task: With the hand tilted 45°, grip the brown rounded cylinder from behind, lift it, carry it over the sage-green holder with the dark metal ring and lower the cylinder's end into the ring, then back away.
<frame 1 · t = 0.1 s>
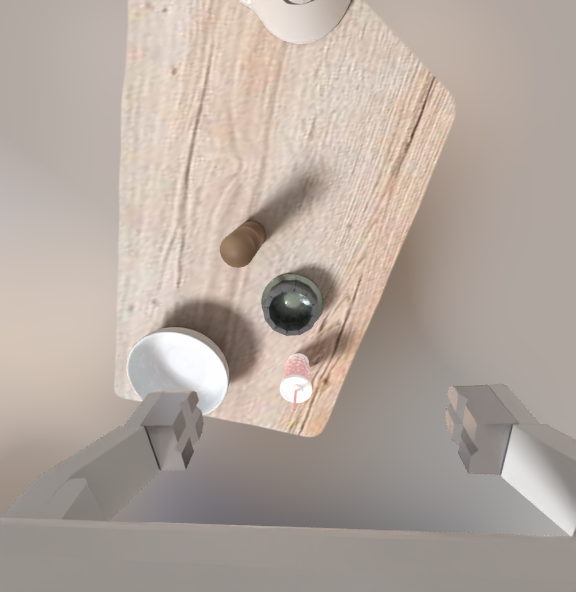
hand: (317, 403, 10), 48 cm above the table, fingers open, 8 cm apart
brown rounded cylinder: (252, 234, 57), on the table
beverage cup: (298, 361, 67), on the table
serving bowl: (189, 358, 69), on the table
cup holder: (292, 302, 61), on the table
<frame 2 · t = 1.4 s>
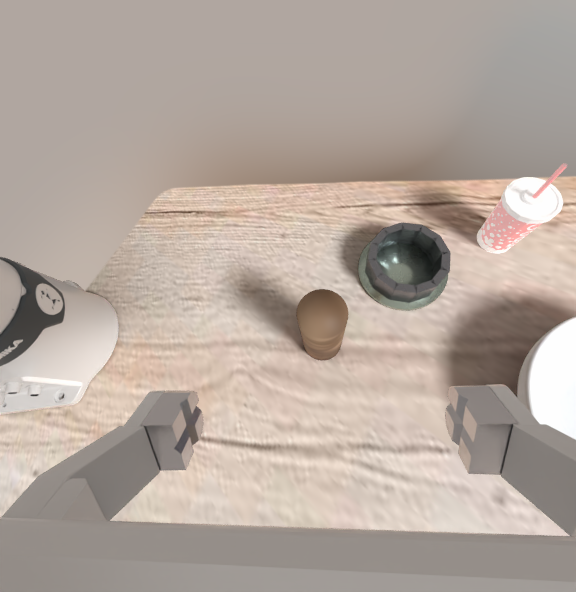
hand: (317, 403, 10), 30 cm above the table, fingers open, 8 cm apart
brown rounded cylinder: (322, 341, 41), on the table
beverage cup: (493, 240, 45), on the table
cup holder: (401, 270, 44), on the table
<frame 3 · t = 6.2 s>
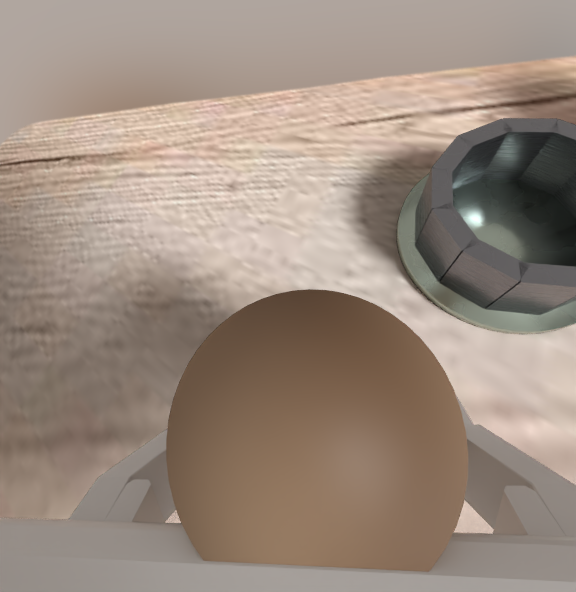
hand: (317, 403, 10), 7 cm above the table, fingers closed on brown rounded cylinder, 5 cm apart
brown rounded cylinder: (323, 424, 16), on the table, touching gripper
cup holder: (499, 238, 19), on the table
when the fingers open (8 cm above the table, at t = 14.0 s): brown rounded cylinder stays where it is, resting on cup holder.
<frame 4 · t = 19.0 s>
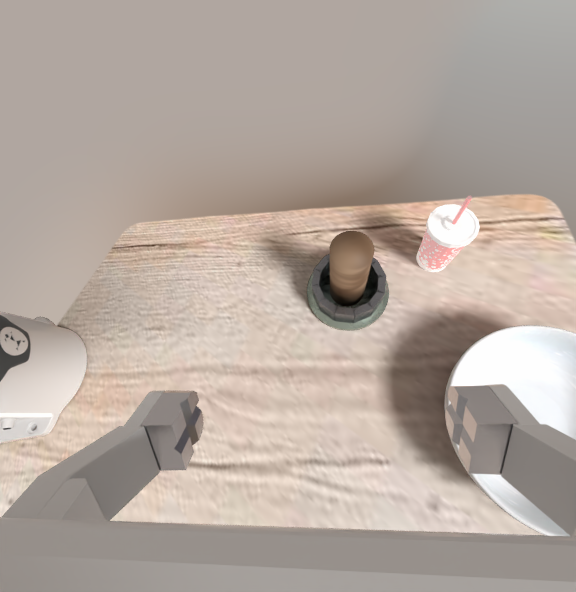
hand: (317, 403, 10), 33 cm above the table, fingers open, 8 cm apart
brown rounded cylinder: (346, 290, 47), point 1 cm above the table, touching cup holder
beverage cup: (431, 259, 48), on the table
serving bowl: (519, 423, 38), on the table
cup holder: (347, 292, 47), on the table
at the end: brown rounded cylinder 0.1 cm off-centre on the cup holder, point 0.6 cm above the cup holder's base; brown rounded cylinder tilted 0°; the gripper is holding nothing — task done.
